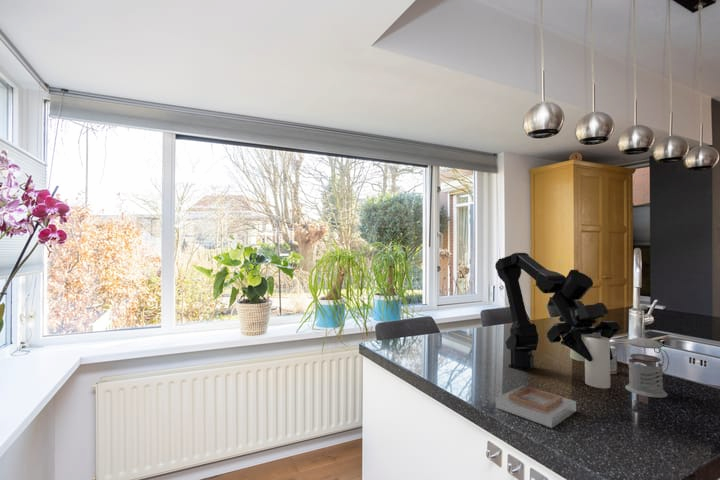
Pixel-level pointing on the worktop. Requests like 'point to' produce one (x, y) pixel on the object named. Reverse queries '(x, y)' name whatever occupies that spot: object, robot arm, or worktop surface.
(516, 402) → the press bed
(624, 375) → the worktop surface
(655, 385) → the french press
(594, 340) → the white bottle
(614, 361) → the pill bottle
